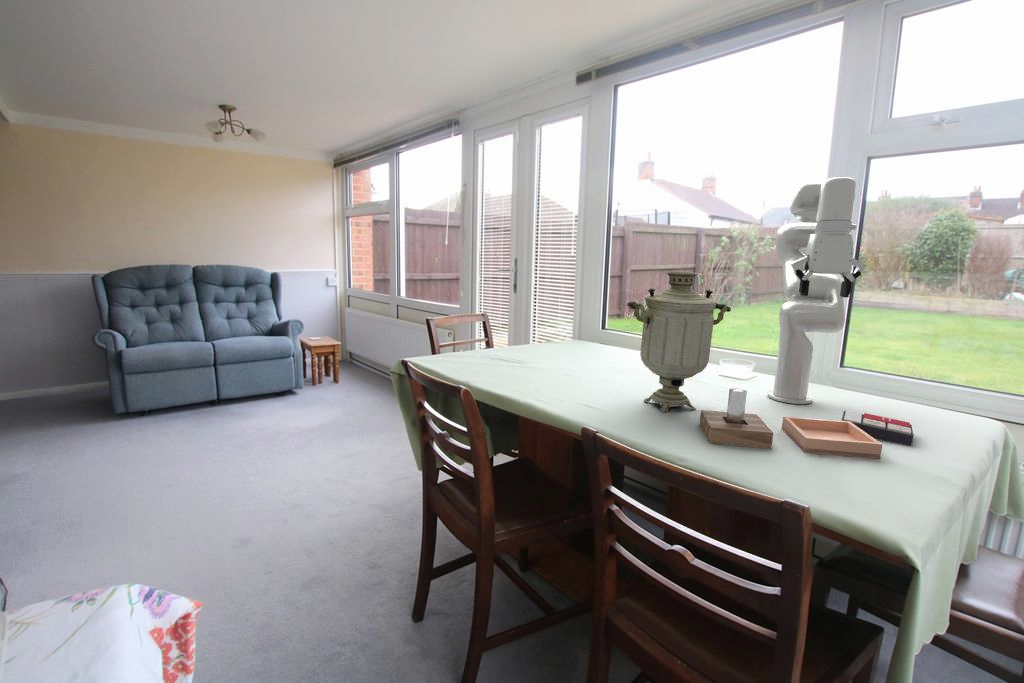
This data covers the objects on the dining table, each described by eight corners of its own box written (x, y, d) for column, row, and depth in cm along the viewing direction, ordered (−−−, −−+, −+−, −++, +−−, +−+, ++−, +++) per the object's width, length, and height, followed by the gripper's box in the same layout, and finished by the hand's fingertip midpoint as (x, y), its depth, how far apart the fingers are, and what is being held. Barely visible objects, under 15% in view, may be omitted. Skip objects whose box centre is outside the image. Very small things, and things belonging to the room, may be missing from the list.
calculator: (914, 433, 122) (842, 417, 131) (910, 449, 123) (838, 432, 132) (912, 421, 131) (844, 407, 140) (908, 437, 132) (841, 422, 141)
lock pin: (723, 432, 130) (727, 387, 128) (739, 433, 129) (744, 388, 127) (726, 437, 126) (731, 391, 124) (743, 439, 125) (748, 392, 123)
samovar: (706, 393, 165) (718, 271, 158) (733, 419, 140) (748, 275, 133) (615, 389, 168) (622, 269, 161) (624, 414, 142) (634, 272, 135)
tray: (781, 428, 133) (783, 416, 132) (847, 434, 130) (849, 421, 130) (804, 452, 118) (806, 438, 117) (880, 458, 115) (882, 444, 114)
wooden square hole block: (699, 424, 135) (700, 410, 135) (754, 428, 133) (756, 414, 132) (709, 443, 122) (711, 427, 121) (771, 448, 119) (773, 432, 119)
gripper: (861, 230, 129) (852, 296, 132) (790, 229, 132) (782, 294, 135) (878, 228, 122) (868, 298, 125) (801, 227, 125) (793, 296, 127)
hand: (823, 296), depth 130 cm, fingers open, 9 cm apart
